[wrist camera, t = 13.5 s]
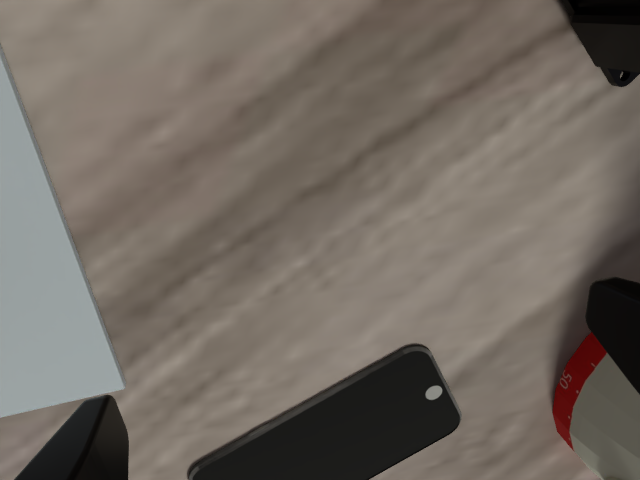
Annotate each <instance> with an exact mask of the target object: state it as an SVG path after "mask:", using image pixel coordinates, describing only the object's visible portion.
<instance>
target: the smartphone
mask: <svg viewBox="0 0 640 480" xmlns="http://www.w3.org/2000/svg"><path fill="white" fill-rule="evenodd" d="M460 421H461V411H460V409H459V407H458V405H457V403H456V401H455V399H454V397H453V395H452V393H451V391H450V389H449V387H448V385H447V383H446V381H445V379H444V378H443V376H442V374H441V372H440V369H439V367H438V365H437V363H436V361H435V359H434V358H433V356H432V353H431V352H430V351H429V350H428V349H427V348H425V347H423V346H420V345H412V346H407V347H405V348H403V349H401V350H399V351H397V352H395V353H394V354H392V355H390V356H388V357H386V358H385V359H383V360H381V361H379V362H377V363H376V364H374V365H372V366H370V367H368V368H367V369H365V370H363V371H361V372H359V373H358V374H356V375H354V376H352V377H351V378H349V379H347V380H345V381H343V382H342V383H340V384H338V385H336V386H334V387H333V388H331V389H329V390H327V391H325V392H324V393H322V394H320V395H318V396H316V397H315V398H313V399H311V400H309V401H307V402H306V403H304V404H302V405H300V406H298V407H297V408H295V409H293V410H291V411H289V412H288V413H286V414H284V415H282V416H280V417H279V418H277V419H275V420H273V421H271V422H270V423H267V424H265V425H264V426H262V427H260V428H258V429H256V430H255V431H253V432H251V433H249V434H248V435H246V436H245V437H243V438H241V439H239V440H237V441H236V442H234V443H232V444H230V445H228V446H227V447H225V448H223V449H221V450H219V451H218V452H216V453H214V454H212V455H210V456H209V457H207V458H205V459H203V460H201V461H200V462H198V463H197V464H195V465H194V466H193V468H192V469H191V471H190V473H189V480H369V479H371V478H372V477H374V476H376V475H378V474H380V473H381V472H383V471H385V470H387V469H388V468H390V467H392V466H394V465H396V464H397V463H399V462H401V461H403V460H405V459H406V458H408V457H410V456H412V455H413V454H415V453H417V452H419V451H421V450H422V449H424V448H426V447H428V446H430V445H431V444H433V443H435V442H437V441H438V440H440V439H442V438H444V437H446V436H447V435H449V434H451V433H452V432H453V431H454V430H455V429H456V428H457V427H458V425H459V423H460Z"/></svg>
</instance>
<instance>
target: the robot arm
mask: <svg viewBox="0 0 640 480" xmlns="http://www.w3.org/2000/svg"><path fill="white" fill-rule="evenodd" d="M562 2H563V4H564V6H565V7H566V9H567V11H568V12H569V14H570V16H571V25H572V27H573V29H574V30H575V32H576V34H577V35H578V37H579V39H580V41H581V42H582V44H583V46H584V47H585V49H586V51H587V52H588V54H589V56H590V58H591V59H592V61H593V63H594V64H595V66H597V67H601V69H602V71H603V72H604V74H605V76H606V78H607V79H608V81H609V83H610V84H611V85H614V86H619V87H624V86H627V85H628V84H629V83H631V82H632V81H633V80H634V79H635V78H636V77H637V76H638V75H639V74H640V0H562ZM622 71H623V76H622V77H621V78H620V74H621V72H622ZM585 318H586V323H587V325H588V327H589V329H590V330H591V332H592V333H593V334H594V336H595V337H596V338H597V340H598V341H599V342H600V344H601V345H602V346H603V348H604V349H605V350H606V352H607V353H608V354H609V356H610V357H611V358H612V360H613V361H614V362H615V364H616V365H617V366H618V368H619V369H620V370H621V372H622V373H623V374H624V376H625V377H626V378H627V380H628V381H629V382H630V383H631V385H632V386H633V387H634V389H635V390H636V391H637V392H638V393H639V395H640V283H637V282H633V281H629V280H625V279H621V278H617V277H609V278H605V279H601V280H597V281H595V282H593V283H592V285H591V286H590V290H589V296H588V302H587V308H586V315H585ZM128 456H129V440H128V433H127V429H126V426H125V424H124V421H123V419H122V416H121V414H120V411H119V409H118V406H117V403H116V401H115V399H114V398H113V397H112V396H111V395H104V396H100V397H95V398H91V399H88V400H86V401H84V402H83V403H82V404H81V405H80V406H79V407H78V409H77V410H76V411H75V412H74V413H73V414H72V415H71V416H70V418H69V419H68V420H67V421H66V422H65V423H64V424H63V425H62V427H61V428H60V429H59V430H58V431H57V432H56V433H55V434H54V435H53V437H52V438H51V439H50V440H49V441H48V442H47V443H46V444H45V446H44V447H43V448H42V449H41V450H40V451H39V452H38V453H37V455H36V456H35V457H34V458H33V459H32V460H31V461H30V462H29V464H28V465H27V466H26V467H25V468H24V469H23V470H22V471H21V472H20V474H19V475H18V476H17V477H16V478H15V479H14V480H128Z"/></svg>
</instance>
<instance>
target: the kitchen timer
mask: <svg viewBox="0 0 640 480" xmlns="http://www.w3.org/2000/svg"><path fill="white" fill-rule="evenodd" d="M553 416H554V420H555V424H556V428H557V432H558V433H559V434H560V435H561V437H562V438H563V439H564V440H565V441H566V442H567V444H568V445H569V446H570V447H571V448H572V450H573V451H574V452H575V453H576V454H577V455H578V457H579V458H580V459H581V460H582V461H583V462H584V464H585V465H586V466H587V467H588V468H589V469H590V470H591V471H592V472H593V473H595V474H596V475H597V476H598V477H599V478H600V479H602V480H640V395H639V393H638V392H637V391H636V390H635V389H634V387H633V386H632V385H631V383H630V382H629V381H628V380H627V378H626V377H625V376H624V374H623V373H622V372H621V370H620V369H619V368H618V366H617V365H616V364H615V362H614V361H613V360H612V358H611V357H610V356H609V354H608V353H607V352H606V350H605V349H604V348H603V346H602V345H601V344H600V342H599V341H598V340H597V338H596V337H595V336H594V334H593V333H592V332H591V333H590V334H589V335H588V336H587V337H586V338H585V340H584V341H583V342H582V344H581V345H580V347H579V348H578V349H577V351H576V352H575V353H574V355H573V356H572V357H571V359H570V360H569V361H568V363H567V365H566V367H565V369H564V371H563V374H562V376H561V378H560V381H559V383H558V385H557V387H556V391H555V398H554V405H553Z"/></svg>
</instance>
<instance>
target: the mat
mask: <svg viewBox="0 0 640 480" xmlns="http://www.w3.org/2000/svg"><path fill="white" fill-rule="evenodd" d="M125 385H126V382H125V379H124V376H123V374H122V371H121V368H120V366H119V363H118V360H117V357H116V355H115V352H114V349H113V347H112V344H111V341H110V339H109V336H108V333H107V331H106V328H105V325H104V322H103V320H102V317H101V314H100V312H99V309H98V306H97V304H96V301H95V298H94V295H93V293H92V290H91V287H90V285H89V282H88V279H87V277H86V274H85V271H84V269H83V266H82V263H81V260H80V258H79V255H78V252H77V250H76V247H75V244H74V242H73V239H72V236H71V233H70V231H69V228H68V225H67V223H66V220H65V217H64V215H63V212H62V209H61V206H60V204H59V201H58V198H57V196H56V193H55V190H54V188H53V185H52V182H51V180H50V177H49V174H48V171H47V169H46V166H45V163H44V161H43V158H42V155H41V153H40V150H39V147H38V144H37V142H36V139H35V136H34V134H33V131H32V128H31V126H30V123H29V120H28V117H27V115H26V112H25V109H24V107H23V104H22V101H21V99H20V96H19V93H18V91H17V88H16V85H15V82H14V80H13V77H12V74H11V72H10V69H9V66H8V64H7V61H6V58H5V55H4V53H3V50H2V47H1V45H0V418H1V417H5V416H9V415H14V414H18V413H22V412H27V411H31V410H35V409H40V408H44V407H48V406H52V405H57V404H61V403H65V402H70V401H74V400H78V399H83V398H87V397H91V396H96V395H100V394H104V393H109V392H113V391H117V390H122V389H125Z"/></svg>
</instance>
